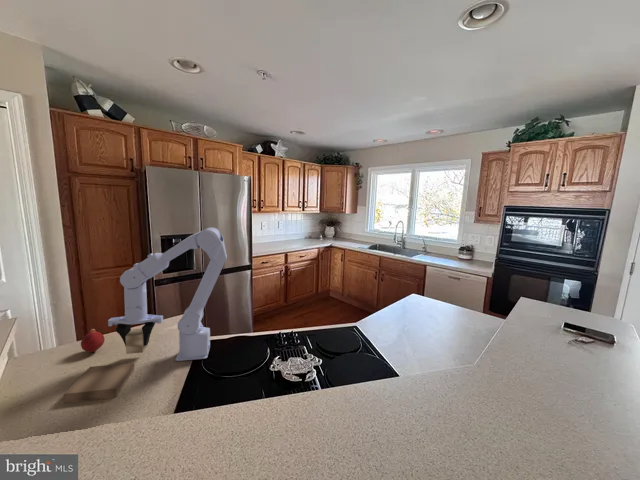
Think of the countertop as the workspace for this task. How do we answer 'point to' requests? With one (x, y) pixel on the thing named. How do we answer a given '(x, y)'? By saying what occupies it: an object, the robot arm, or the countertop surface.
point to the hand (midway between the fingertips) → (137, 344)
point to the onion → (92, 341)
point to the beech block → (135, 341)
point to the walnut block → (99, 383)
